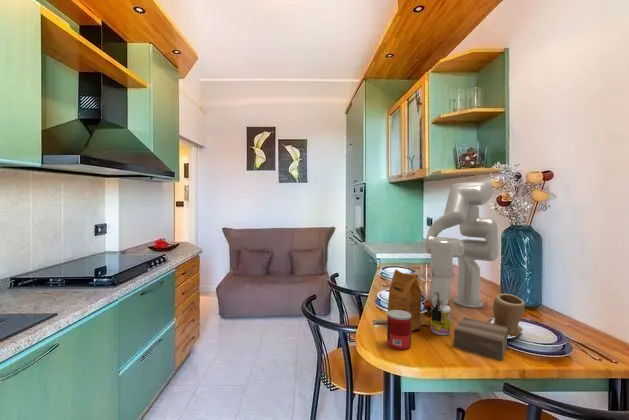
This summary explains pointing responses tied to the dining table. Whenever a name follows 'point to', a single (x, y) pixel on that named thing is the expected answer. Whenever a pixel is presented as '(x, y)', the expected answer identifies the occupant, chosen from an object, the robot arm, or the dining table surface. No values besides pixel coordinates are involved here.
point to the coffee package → (406, 296)
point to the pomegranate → (428, 306)
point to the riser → (481, 338)
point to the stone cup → (508, 312)
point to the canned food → (399, 329)
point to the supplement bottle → (442, 321)
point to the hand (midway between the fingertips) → (440, 317)
